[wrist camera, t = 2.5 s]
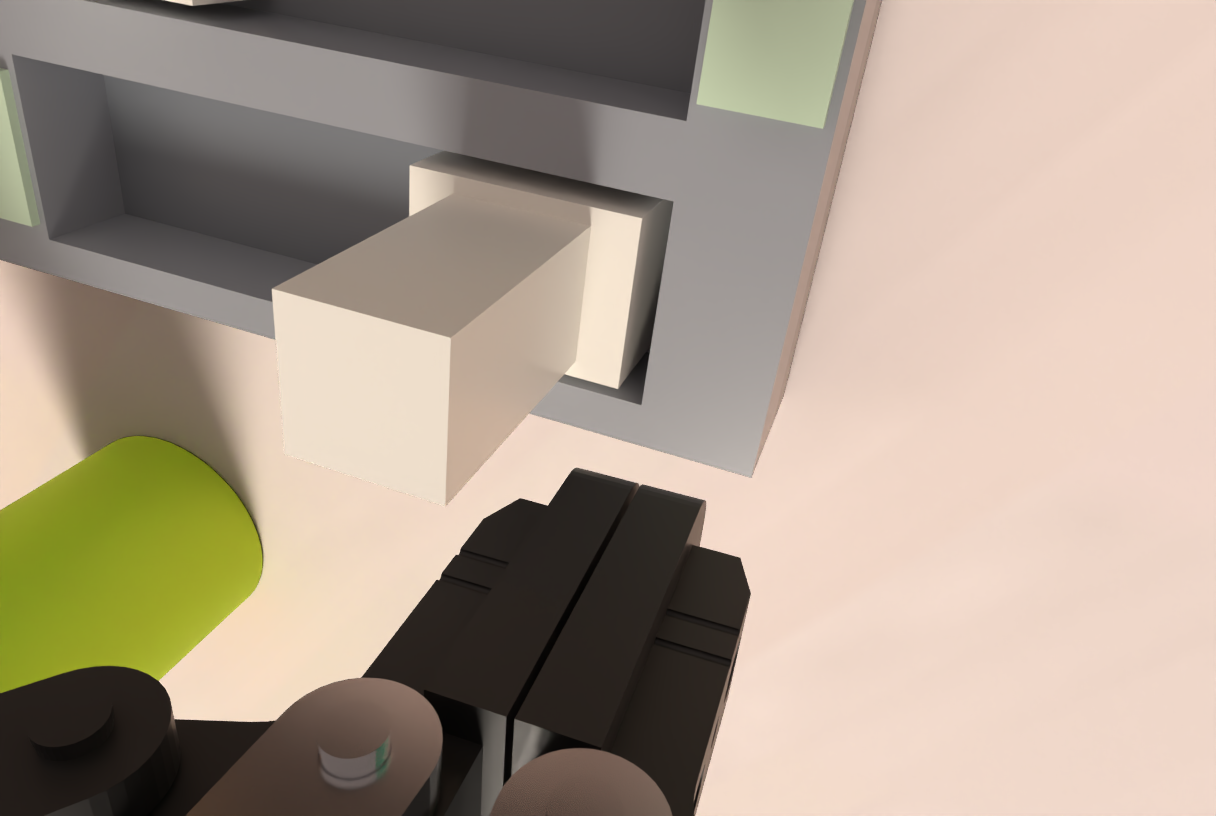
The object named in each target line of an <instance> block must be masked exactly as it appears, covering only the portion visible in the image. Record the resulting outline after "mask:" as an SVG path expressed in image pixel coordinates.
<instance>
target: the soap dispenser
mask: <svg viewBox="0 0 1216 816" xmlns="http://www.w3.org/2000/svg"><path fill="white" fill-rule="evenodd" d="M261 572H262V550H261V545H260V541H259V537H258V534H257V531H256V529H255V526H254V524H253V522H252V520H251V518H250V516H249V514H248V512H247V510H246V508H245V507H244V505H243V504H242V502H241V501H240V499H239V498H238V496H237V495H236V494H235V493H234V491H233V490H232V489H231V488H230V486H229V485H228V484H227V483H226V482H225V481H224V480H223V479H222V478H221V477H220V476H219V475H218V474H217V473H216V472H215V471H214V470H213V469H212V468H210V467H209V466H208V465H207V464H206V463H204V462H203V461H202V460H200V459H199V458H197V457H196V456H194V455H193V454H191V453H190V452H188V451H186V450H184V449H183V448H181V447H179V446H176V445H174V444H172V443H169V442H167V441H164V440H161V439H157V438H152V437H146V436H131V437H125V438H122V439H119V440H116V441H114V442H112V443H111V444H109V445H107V446H106V447H104V448H102V449H101V450H99V451H97V452H96V453H94V454H93V455H91V456H89V457H88V458H86V459H84V460H83V461H81V462H79V463H78V464H76V465H74V466H73V467H71V468H69V469H68V470H66V471H64V472H63V473H61V474H60V475H58V476H56V477H55V478H53V479H51V480H50V481H48V482H46V483H45V484H43V485H41V486H40V487H38V488H36V489H35V490H33V491H31V492H30V493H28V494H27V495H25V496H23V497H22V498H20V499H18V500H17V501H15V502H13V503H12V504H10V505H8V506H7V507H5V508H3V509H2V510H0V693H3V692H6V691H9V690H12V689H15V688H18V687H21V686H24V685H28V684H31V683H34V682H37V681H40V680H43V679H46V678H49V677H53V676H56V675H59V674H62V673H66V672H69V671H73V670H77V669H82V668H88V667H94V666H120V667H128V668H132V669H136V670H139V671H142V672H144V673H147V674H149V675H150V676H152V677H153V678H155V679H156V680H158V681H159V680H160V679H161V678H162V677H163V676H164V675H165V674H166V673H167V672H168V671H169V670H171V669H172V668H173V667H174V666H175V665H176V664H177V663H178V662H179V661H180V660H181V659H182V658H183V657H184V656H186V655H187V654H188V653H189V652H190V651H191V650H192V649H193V648H194V647H195V646H196V645H197V644H198V643H199V642H201V641H202V640H203V639H204V638H205V637H206V636H207V635H208V634H209V633H210V632H211V631H212V630H213V629H214V628H215V627H217V626H218V625H219V624H220V623H221V622H222V621H223V620H224V619H225V618H226V617H227V616H228V615H229V614H230V613H232V612H233V611H234V610H235V609H236V608H237V607H238V606H239V605H240V604H241V603H242V602H243V601H244V600H245V599H247V598H248V597H249V596H250V595H251V594H252V592H253V591H254V590H255V588H256V586H257V585H258V582H259V580H260V577H261Z"/></svg>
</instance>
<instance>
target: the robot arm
mask: <svg viewBox="0 0 1216 816" xmlns="http://www.w3.org/2000/svg"><path fill="white" fill-rule="evenodd" d="M705 511H706V501H705V500H701V499H697V498H693V497H689V496H685V495H682V494H678V493H674V492H670V491H666V490H662V489H658V488H655V487H651V486H647V485H643V484H642V485H641V486H640V487H639V484H638V483H634V482H630V481H627V480H623V479H619V478H615V477H611V476H607V475H603V474H600V473H596V472H592V471H588V470H584V469H580V468H575V469H573V470H572V471H571V473H570V474H569V475H568V477H567V478H566V480H565V481H564V483H563V484H562V486H561V487H560V489H559V490H558V492H557V493H556V495H555V496H554V498H553V499H552V501H551V502H550V503H549V505H548V506H547V505H543V504H539V503H536V502H532V501H528V500H525V499H521V498H520V499H518V500H516V501H514V502H513V503H511V504H509V505H507V506H506V507H504V508H502V509H500V510H499V511H497V512H495V513H493V514H491V515H490V516H488V517H486V518H484V519H483V520H482V522H481V523H480V524H479V526H478V527H477V528H476V529H475V531H474V532H473V533H472V535H471V536H470V537H469V539H468V540H467V541H466V542H465V544H464V545H463V546H462V548H461V550H460V554H459V555H455V557H454V558H453V559H452V561H451V562H450V563H449V565H448V566H447V567H446V568H445V570H444V571H443V572H442V575H441V578H440V580H436V581H435V583H434V584H433V585H432V587H431V588H430V589H429V591H428V592H427V593H426V594H425V596H424V597H423V598H422V600H421V601H420V602H419V604H418V605H417V606H416V607H415V609H414V610H413V611H412V613H411V614H410V615H409V617H408V618H407V619H406V620H405V622H404V623H403V624H402V626H401V627H400V628H399V630H398V631H397V632H396V633H395V635H394V636H393V637H392V639H391V640H390V641H389V643H388V644H387V645H386V646H385V648H384V649H383V650H382V652H381V653H380V654H379V656H378V657H377V658H376V659H375V661H374V662H373V663H372V665H371V666H370V667H369V669H368V670H367V671H366V672H365V674H364V675H363V676H362V677H361V678H355V679H347V680H343V681H338V682H334V683H331V684H328V685H326V686H323V687H320V688H318V689H316V690H314V691H312V692H310V693H308V694H306V695H305V696H303V697H302V698H301V699H299V700H298V701H296V702H295V703H294V704H292V705H291V706H290V707H289V708H288V709H287V710H286V711H285V712H284V713H283V714H282V715H281V716H280V717H279V718H278V719H277V720H276V721H269V722H234V721H206V720H177V719H174V716H173V711H172V706H171V701H170V698H169V695H168V693H167V691H166V689H165V688H164V687H163V686H162V685H161V683H160V682H159V681H158V680H156V679H155V678H153V677H152V676H150V675H149V674H147V673H144V672H142V671H139V670H136V669H132V668H128V667H120V666H94V667H88V668H82V669H77V670H73V671H69V672H66V673H62V674H59V675H56V676H53V677H49V678H46V679H43V680H40V681H37V682H34V683H31V684H28V685H24V686H21V687H18V688H15V689H12V690H9V691H6V692H3V693H0V816H695V814H696V810H697V807H698V803H699V800H700V796H701V792H702V789H703V785H704V781H705V778H706V774H707V770H708V766H709V763H710V760H711V756H712V753H713V749H714V745H715V742H716V738H717V734H718V731H719V727H720V724H721V720H722V716H723V713H724V709H725V706H726V702H727V698H728V694H729V690H730V685H731V681H732V676H733V672H734V667H735V663H736V658H737V654H738V649H739V645H740V640H741V636H742V631H743V627H744V622H745V617H746V613H747V608H748V604H749V599H750V595H751V593H750V589H749V586H748V583H747V579H746V576H745V572H744V569H743V566H742V562H741V559H740V558H739V557H735V556H732V555H728V554H724V553H721V552H717V551H713V550H710V549H706V548H702V547H699V546H700V541H701V535H702V530H703V524H704V518H705Z"/></svg>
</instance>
